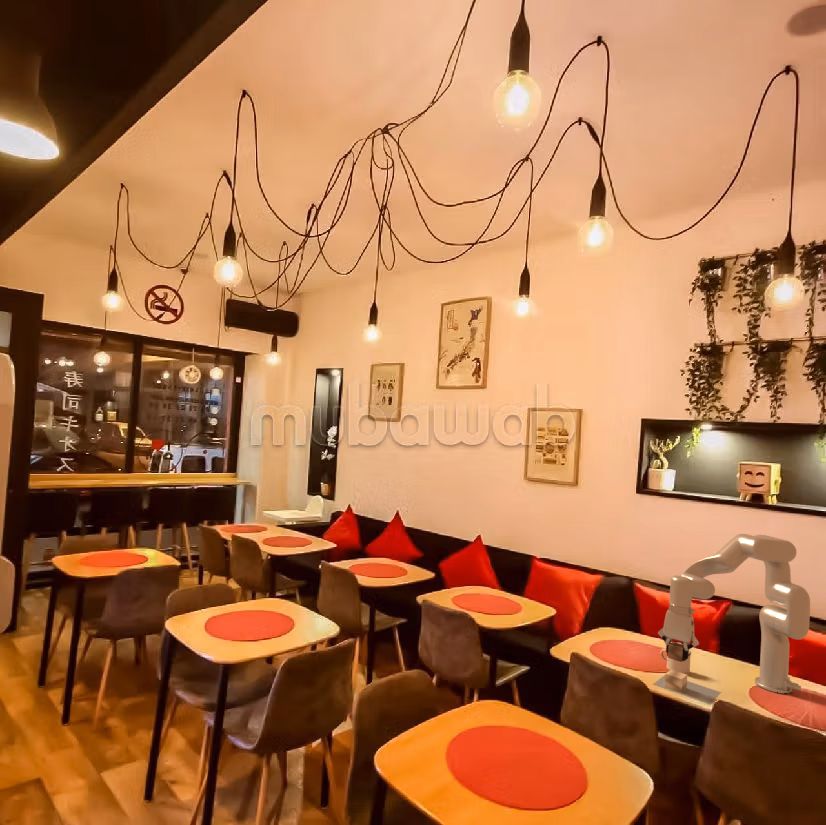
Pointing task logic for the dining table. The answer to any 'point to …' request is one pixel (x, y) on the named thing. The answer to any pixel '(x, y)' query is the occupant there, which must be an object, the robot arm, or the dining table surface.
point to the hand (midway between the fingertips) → (676, 657)
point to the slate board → (693, 691)
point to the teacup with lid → (677, 663)
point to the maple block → (676, 681)
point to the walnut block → (675, 651)
